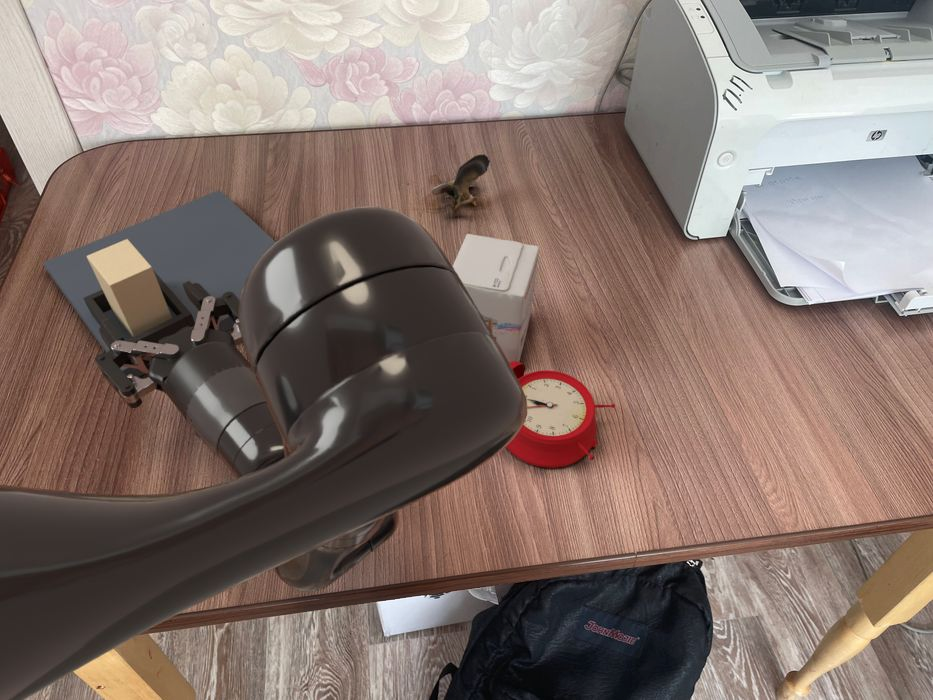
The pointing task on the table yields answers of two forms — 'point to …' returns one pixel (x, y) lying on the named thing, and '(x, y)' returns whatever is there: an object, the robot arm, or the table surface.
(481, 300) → the ink box
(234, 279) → the dark gray square slab
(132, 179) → the table surface
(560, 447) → the alarm clock
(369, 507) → the robot arm
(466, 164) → the eagle figurine
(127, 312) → the tan rectangular block
